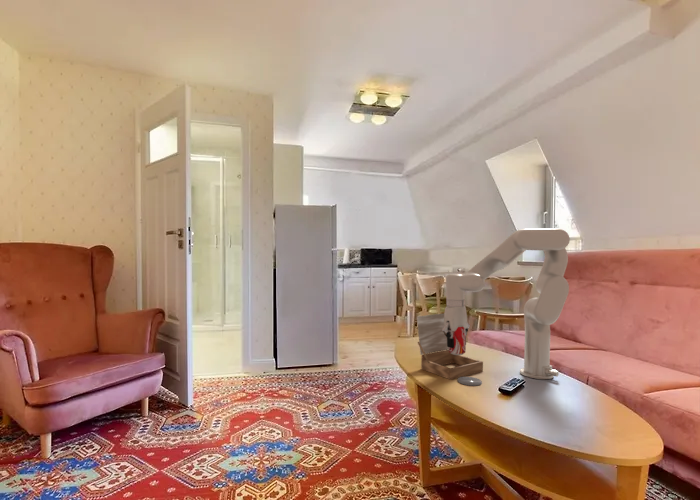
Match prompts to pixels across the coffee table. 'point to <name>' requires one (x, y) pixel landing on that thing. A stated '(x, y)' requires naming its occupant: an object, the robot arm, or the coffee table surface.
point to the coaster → (469, 381)
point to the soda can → (458, 342)
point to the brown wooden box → (441, 350)
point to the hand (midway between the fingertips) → (456, 345)
